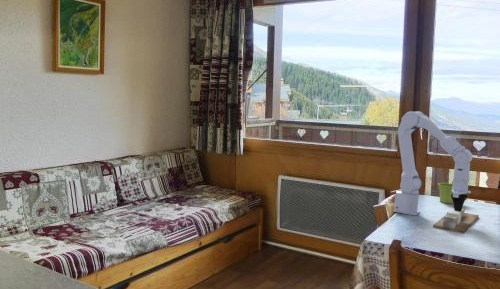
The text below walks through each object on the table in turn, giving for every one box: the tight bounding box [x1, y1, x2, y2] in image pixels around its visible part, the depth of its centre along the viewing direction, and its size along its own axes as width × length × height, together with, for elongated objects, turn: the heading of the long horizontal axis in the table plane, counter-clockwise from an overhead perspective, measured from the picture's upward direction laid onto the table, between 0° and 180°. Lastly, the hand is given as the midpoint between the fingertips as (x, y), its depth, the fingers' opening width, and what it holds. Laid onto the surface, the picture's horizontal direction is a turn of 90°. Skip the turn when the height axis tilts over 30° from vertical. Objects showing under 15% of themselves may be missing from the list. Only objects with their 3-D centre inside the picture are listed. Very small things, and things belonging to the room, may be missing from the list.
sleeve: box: [446, 209, 461, 225], centre depth 185 cm, size 4×5×4 cm
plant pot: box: [437, 182, 454, 205], centre depth 225 cm, size 9×9×9 cm
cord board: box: [432, 208, 479, 234], centre depth 190 cm, size 11×30×5 cm, turn 144°
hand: (457, 212), depth 190 cm, fingers closed
